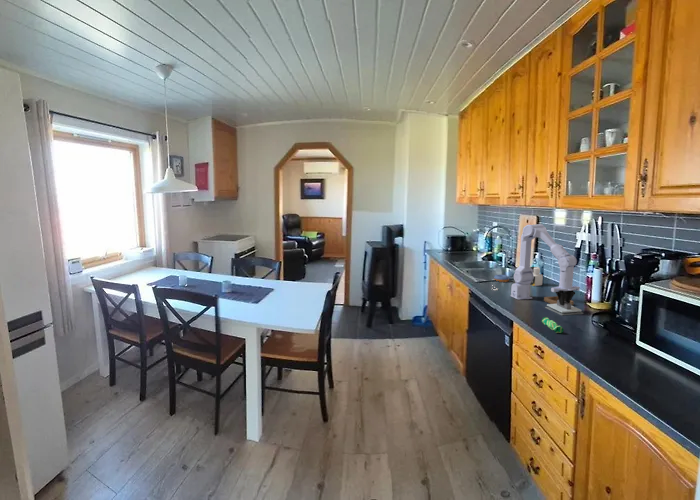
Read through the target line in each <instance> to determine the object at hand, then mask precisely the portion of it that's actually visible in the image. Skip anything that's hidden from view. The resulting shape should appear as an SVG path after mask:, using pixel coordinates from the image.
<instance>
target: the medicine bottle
mask: <svg viewBox="0 0 700 500" xmlns="http://www.w3.org/2000/svg"><path fill="white" fill-rule="evenodd" d="M530 268H532V270H533V275H534V278H533V280H532V281H531V283H530V286H531V287H538V286H543V279H544V278H543V274H540V273H541V268H540V267H539V266H530Z"/></svg>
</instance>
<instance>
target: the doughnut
mask: <svg viewBox="0 0 700 500" xmlns="http://www.w3.org/2000/svg"><path fill="white" fill-rule="evenodd" d="M493 280H494V281H495V280H496V281H495V282H497V281H499V283H507V282H509V281H510V277H509V275H507V274H495V275H494V277H493Z"/></svg>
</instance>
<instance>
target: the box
mask: <svg viewBox="0 0 700 500" xmlns="http://www.w3.org/2000/svg"><path fill="white" fill-rule="evenodd" d="M557 300H559V299H558V296H557V295H556V296H555V295H554V296H553V295H552V296H544V297H543V302H545V303H547V304H557ZM570 304H572V305H571V306H574V300H572V299H571V301H570Z"/></svg>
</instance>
